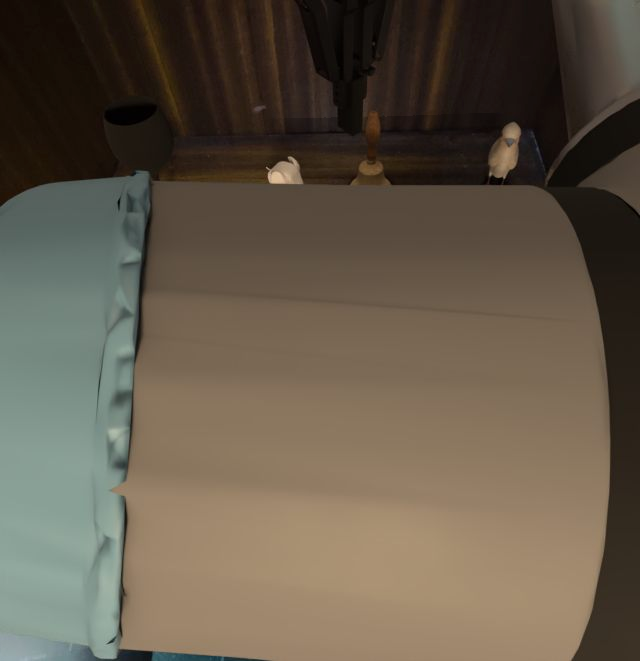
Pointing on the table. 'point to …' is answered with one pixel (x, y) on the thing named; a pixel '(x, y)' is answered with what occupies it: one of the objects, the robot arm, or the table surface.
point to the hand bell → (371, 156)
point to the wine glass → (139, 134)
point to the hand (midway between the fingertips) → (349, 128)
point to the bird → (504, 152)
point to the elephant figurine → (285, 173)
